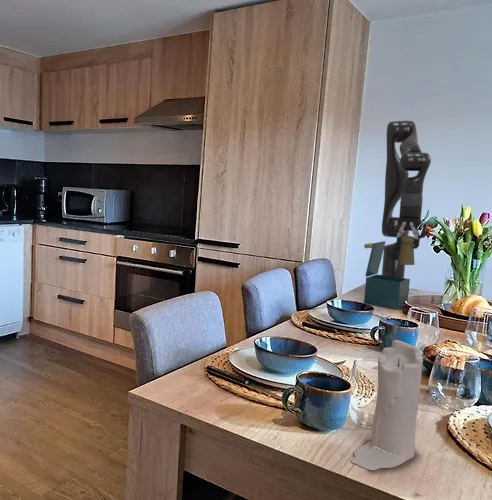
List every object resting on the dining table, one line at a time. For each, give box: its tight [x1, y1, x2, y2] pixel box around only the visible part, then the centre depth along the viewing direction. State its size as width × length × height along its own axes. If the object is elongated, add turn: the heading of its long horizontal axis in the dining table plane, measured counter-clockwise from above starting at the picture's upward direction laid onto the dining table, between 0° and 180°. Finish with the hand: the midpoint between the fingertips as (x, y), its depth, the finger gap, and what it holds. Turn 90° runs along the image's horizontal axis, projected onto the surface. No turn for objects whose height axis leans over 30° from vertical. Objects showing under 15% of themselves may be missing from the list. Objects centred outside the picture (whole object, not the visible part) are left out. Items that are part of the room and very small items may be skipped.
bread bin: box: [363, 273, 411, 310], centre depth 202 cm, size 13×11×11 cm
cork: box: [398, 235, 415, 266], centre depth 199 cm, size 6×6×11 cm
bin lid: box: [363, 240, 386, 278], centre depth 206 cm, size 14×11×5 cm
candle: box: [350, 339, 424, 471], centre depth 89 cm, size 7×14×20 cm, turn 125°
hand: (407, 247), depth 199 cm, fingers closed on cork, 5 cm apart
